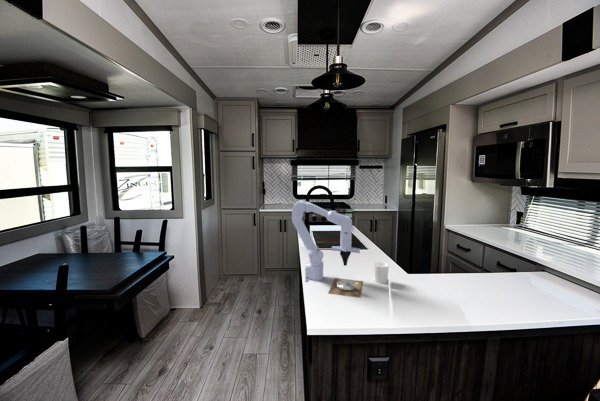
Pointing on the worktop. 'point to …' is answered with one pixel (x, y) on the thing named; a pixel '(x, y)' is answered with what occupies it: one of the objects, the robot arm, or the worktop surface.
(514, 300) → the worktop surface
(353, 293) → the brown flat rectangular slab
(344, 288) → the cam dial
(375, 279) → the white cup
